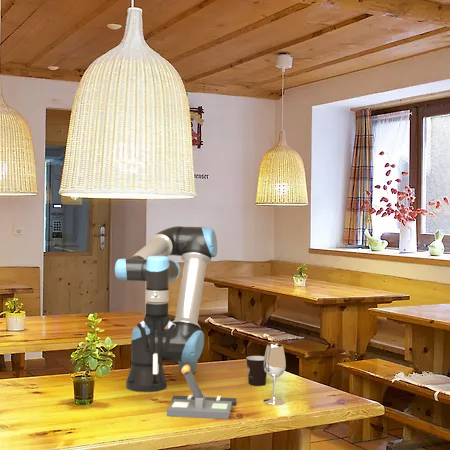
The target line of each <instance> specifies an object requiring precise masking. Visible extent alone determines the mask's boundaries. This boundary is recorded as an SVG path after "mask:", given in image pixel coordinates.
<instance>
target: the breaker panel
mask: <svg viewBox="0 0 450 450" xmlns="http://www.w3.org/2000/svg"><path fill="white" fill-rule="evenodd" d="M202 394H203V398H196V399H195V400H185V399H173V401H172V400H171V403H170V405H169V406H168V408H167V409H166V417H175V418H200V419H223V420H224V419H225V420H229V418H230V416H231V411H232V408H233V405H232V401H210V400H205V397H206V393H202Z"/></svg>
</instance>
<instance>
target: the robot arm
mask: <svg viewBox="0 0 450 450" xmlns="http://www.w3.org/2000/svg"><path fill="white" fill-rule="evenodd" d="M217 240H218V239H217V235H216V232H215V230H214V228H212V227H209V226H208V227H207V226H205V227H204V226H182V225H181V226H170V227H168V228H166V229H163V230H161V231H159V232H157V233H156V234H154V235H153V236H152V237H151V238H150V239H149V242H148V243H147V244H146V245H145V246H143V247H142V248H141V249H139V250H138V251H137V252H135V254H133V255H132V256H130V257H129V258H118V259H117V260H116V262H115V263H114V264H115V265H114V275H115V278H116V279H117V280H119V281H125V282H128V281H131V282H132V281H133V282H145V301H146V303H145V316H144V318H143V320H142V321H141V322H138V323H137V326H135V327H133V329H132V331H131V338H130V342H131V343H130V345H131V347H130V350H131V351H130V352H131V355H130V360H131V361H130V363H131V364H130V369H129V372H128V375H127V378H126V381H125V385H126V386H125V388H126V389H128V390H131V391H135V392H144V393H145V392H158V391H162V390H165V389H167V387H168V385H167V384H168V381H167V377H166V374H165V370H164V368H163V361H166V362H169V361H170V362H178V361H180V362H195V361H197V362H198V360H199V359H200V357H201V354H202V352H203V349H204V345H205V333H204V332H203V331H202V328H201V326H200V324H199V323H198V321H199V315H200V309H201V308H200V307H201V303H202V295H203V289H204V281H205V276H206V270H207V266H208V265H209V264H211V261H212V258H215V257H217V254H218V241H217ZM169 256H177V257H178V256H179V257H180V258H181V260H182V261H183V263H184V264H183V269H182V270H181V267H180V264H179V263H178V261H176V260H173V259H170V258H169ZM181 271H182V275H181V282H180V286H179V293H178V298H177V299H178V300H177V306H176V310H175V318H174V320H172V321H171V319H170V317H169V303H168V302H169V293H170V292H169V290H170V289H169V287H170V286H169V284H170V283H171V282H172V283H173V282H174V281H176V280H177V279H178V278H179V277H180V274H181ZM166 327H167V328H166Z"/></svg>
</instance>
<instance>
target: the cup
mask: <svg viewBox="0 0 450 450" xmlns="http://www.w3.org/2000/svg"><path fill="white" fill-rule="evenodd" d="M177 362H178V363H177V364H178V370H179V371H180V373H181V374H182V372H181V370H182V368H183V366H184V365H189V366H190V367H191V371H192V373H193V374H194V373H195V372H196V370H197V367H198V360H197V361H195V362H180V361H177Z"/></svg>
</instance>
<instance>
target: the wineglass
mask: <svg viewBox="0 0 450 450" xmlns="http://www.w3.org/2000/svg"><path fill="white" fill-rule="evenodd" d="M286 363H287V362H286V355H285V348H284V345H283V344H280V343H269V344H267V345H266V349H265V353H264V371H265V372H266V374H267V375H268V376H269V377H270V378H272V385H273V387H272V397H271V398H265V399H263V400H262V401H263V403H264V404H267V405H271V406H277V405H283V404H285V403H286V402H285V400H284V399H281V398H277V397H276V382H277V378H279V377H281V376H282V375H283V374H284V373H285V371H286V368H287V364H286Z"/></svg>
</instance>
